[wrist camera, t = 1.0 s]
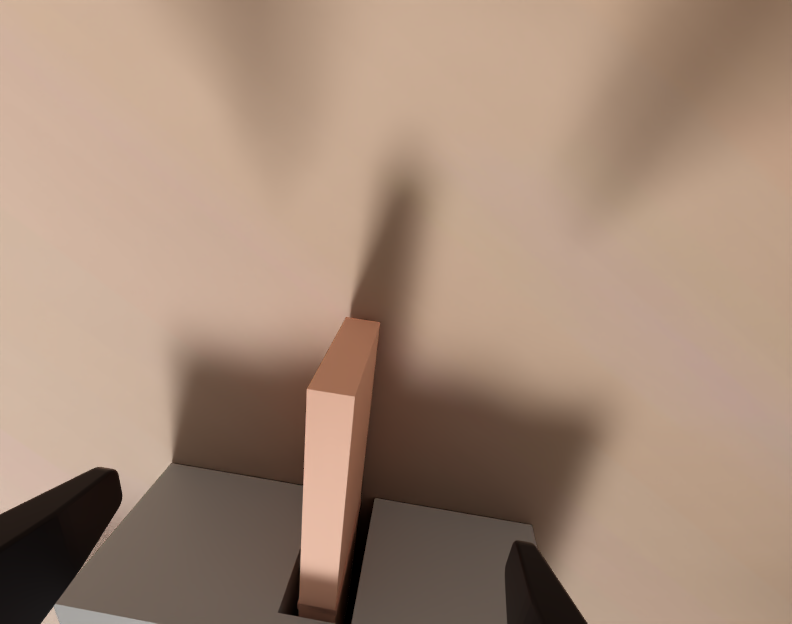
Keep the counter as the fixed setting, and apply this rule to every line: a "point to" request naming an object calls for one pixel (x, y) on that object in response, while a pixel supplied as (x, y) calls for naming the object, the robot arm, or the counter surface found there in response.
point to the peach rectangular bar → (335, 469)
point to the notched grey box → (283, 559)
